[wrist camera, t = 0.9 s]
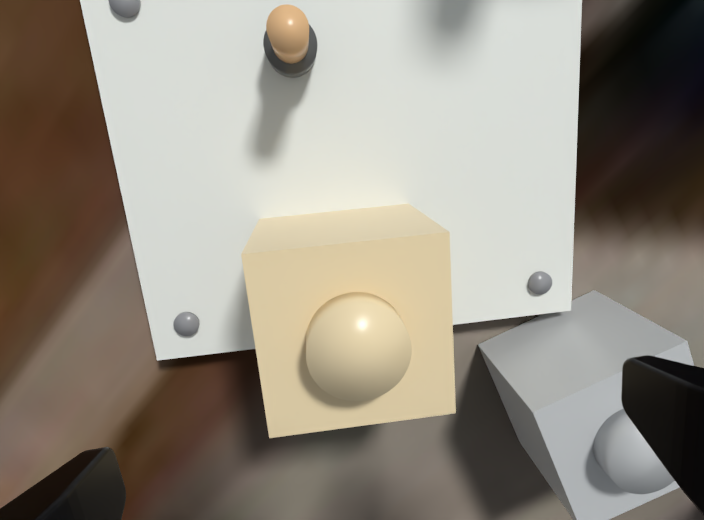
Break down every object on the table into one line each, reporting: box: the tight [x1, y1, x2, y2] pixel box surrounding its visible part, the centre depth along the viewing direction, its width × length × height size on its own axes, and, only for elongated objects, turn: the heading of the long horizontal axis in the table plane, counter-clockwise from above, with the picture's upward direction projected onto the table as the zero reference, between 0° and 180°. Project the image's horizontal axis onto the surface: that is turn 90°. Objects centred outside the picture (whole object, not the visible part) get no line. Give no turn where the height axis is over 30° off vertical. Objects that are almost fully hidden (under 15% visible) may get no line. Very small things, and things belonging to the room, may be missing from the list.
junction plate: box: [80, 0, 582, 361], centre depth 17 cm, size 15×18×5 cm
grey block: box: [478, 290, 694, 520], centre depth 20 cm, size 6×6×7 cm
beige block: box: [241, 204, 456, 438], centre depth 17 cm, size 6×6×7 cm
